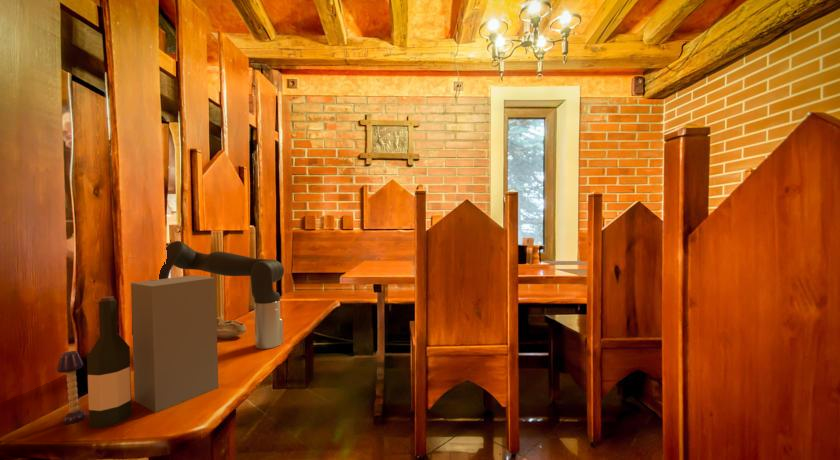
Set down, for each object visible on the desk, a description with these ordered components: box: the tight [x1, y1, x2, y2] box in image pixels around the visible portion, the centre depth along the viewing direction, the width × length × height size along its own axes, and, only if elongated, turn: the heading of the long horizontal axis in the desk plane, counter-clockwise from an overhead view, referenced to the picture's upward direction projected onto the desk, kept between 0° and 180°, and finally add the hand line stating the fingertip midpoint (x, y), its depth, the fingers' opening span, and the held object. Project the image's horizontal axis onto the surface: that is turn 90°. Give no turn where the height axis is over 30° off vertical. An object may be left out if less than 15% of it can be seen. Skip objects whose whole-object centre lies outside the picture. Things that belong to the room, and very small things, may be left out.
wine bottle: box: [86, 295, 133, 429], centre depth 89 cm, size 8×8×30 cm
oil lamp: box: [217, 316, 248, 339], centre depth 155 cm, size 11×15×8 cm
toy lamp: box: [56, 350, 87, 425], centre depth 89 cm, size 5×5×17 cm
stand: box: [130, 274, 219, 413], centre depth 102 cm, size 16×12×32 cm
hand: (169, 291), depth 122 cm, fingers open, 8 cm apart
